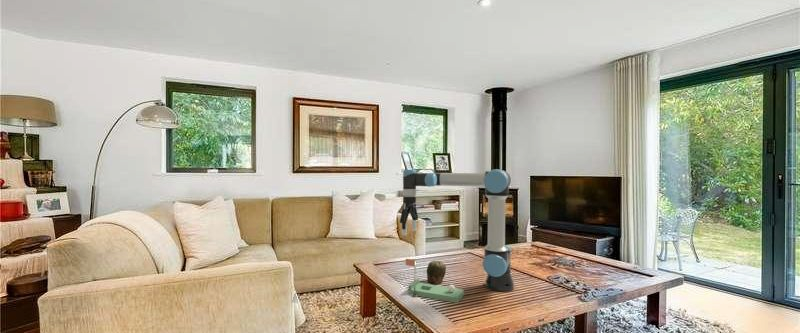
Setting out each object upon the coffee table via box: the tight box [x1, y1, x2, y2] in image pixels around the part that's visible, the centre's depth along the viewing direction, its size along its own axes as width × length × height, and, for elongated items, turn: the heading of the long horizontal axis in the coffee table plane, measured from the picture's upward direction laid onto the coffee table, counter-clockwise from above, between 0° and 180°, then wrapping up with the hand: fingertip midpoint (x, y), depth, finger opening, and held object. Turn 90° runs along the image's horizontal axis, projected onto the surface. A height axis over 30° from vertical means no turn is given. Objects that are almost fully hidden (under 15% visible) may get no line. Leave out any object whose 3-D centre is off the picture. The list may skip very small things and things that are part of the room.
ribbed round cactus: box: [426, 260, 447, 285], centre depth 190 cm, size 11×11×12 cm
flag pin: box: [405, 258, 418, 298], centre depth 169 cm, size 6×2×19 cm, turn 65°
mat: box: [408, 278, 465, 303], centre depth 171 cm, size 26×12×4 cm, turn 65°
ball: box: [447, 284, 456, 292], centre depth 168 cm, size 4×4×4 cm
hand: (409, 233), depth 191 cm, fingers open, 13 cm apart
